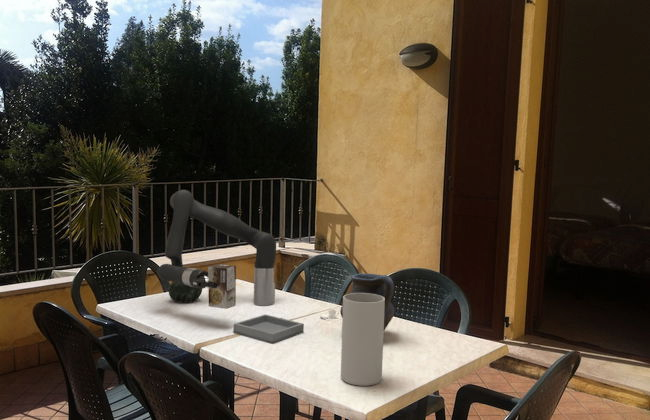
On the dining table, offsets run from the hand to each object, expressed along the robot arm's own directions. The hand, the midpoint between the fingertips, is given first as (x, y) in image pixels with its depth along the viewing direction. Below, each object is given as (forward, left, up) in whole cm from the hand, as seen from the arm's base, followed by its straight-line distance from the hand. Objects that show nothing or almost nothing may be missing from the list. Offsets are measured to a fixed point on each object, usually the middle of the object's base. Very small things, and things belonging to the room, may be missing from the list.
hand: (223, 283), depth 209 cm
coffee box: (0, -1, -9) cm, 9 cm away
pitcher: (-28, +50, -18) cm, 60 cm away
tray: (-7, +18, -17) cm, 26 cm away
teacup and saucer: (-41, +21, -18) cm, 50 cm away
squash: (-18, -44, -18) cm, 51 cm away
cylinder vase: (+9, +70, -18) cm, 73 cm away
